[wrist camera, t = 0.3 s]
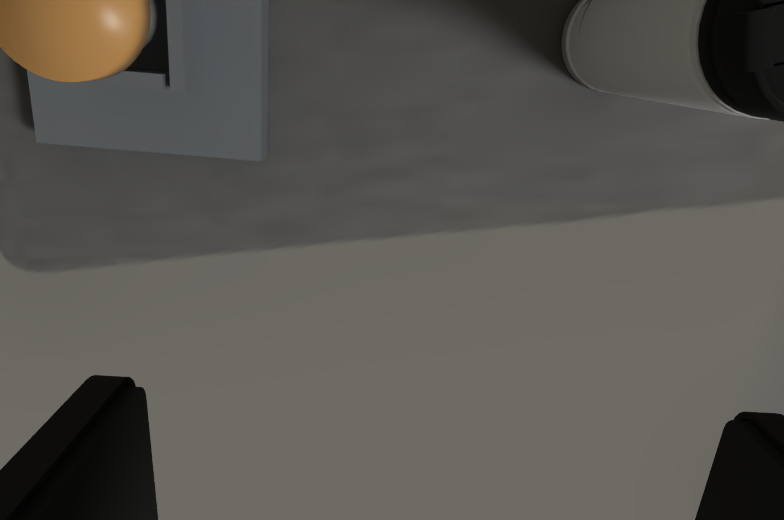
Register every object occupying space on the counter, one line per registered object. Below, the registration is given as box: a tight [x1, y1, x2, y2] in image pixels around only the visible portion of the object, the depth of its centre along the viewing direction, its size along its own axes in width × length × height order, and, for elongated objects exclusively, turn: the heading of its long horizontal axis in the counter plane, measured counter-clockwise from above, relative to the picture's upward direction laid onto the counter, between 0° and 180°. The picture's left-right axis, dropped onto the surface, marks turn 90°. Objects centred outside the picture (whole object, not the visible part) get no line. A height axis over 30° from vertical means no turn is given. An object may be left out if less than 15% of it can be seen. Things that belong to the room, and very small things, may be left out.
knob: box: [0, 0, 158, 82], centre depth 27 cm, size 7×7×6 cm
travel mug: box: [561, 0, 784, 122], centre depth 25 cm, size 6×7×20 cm
